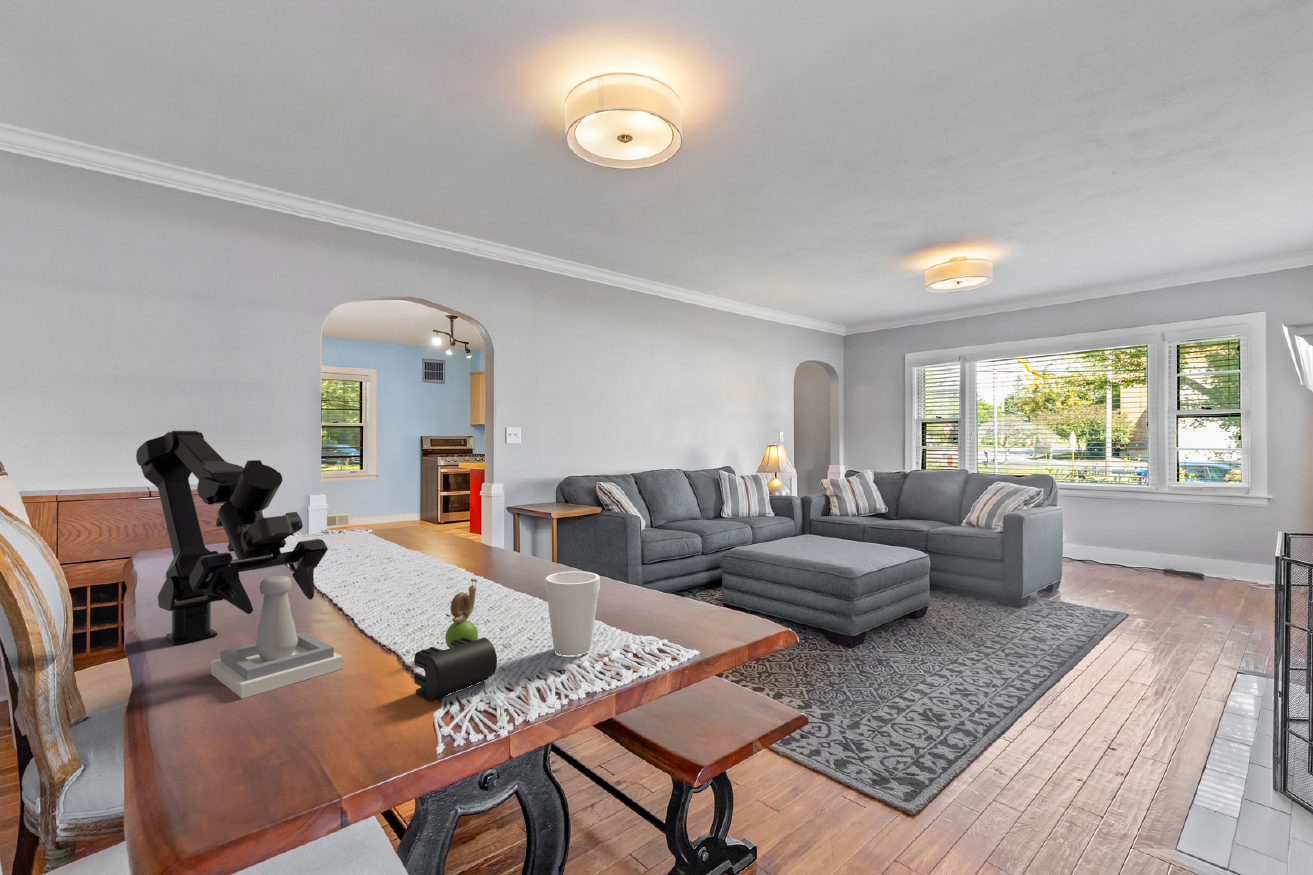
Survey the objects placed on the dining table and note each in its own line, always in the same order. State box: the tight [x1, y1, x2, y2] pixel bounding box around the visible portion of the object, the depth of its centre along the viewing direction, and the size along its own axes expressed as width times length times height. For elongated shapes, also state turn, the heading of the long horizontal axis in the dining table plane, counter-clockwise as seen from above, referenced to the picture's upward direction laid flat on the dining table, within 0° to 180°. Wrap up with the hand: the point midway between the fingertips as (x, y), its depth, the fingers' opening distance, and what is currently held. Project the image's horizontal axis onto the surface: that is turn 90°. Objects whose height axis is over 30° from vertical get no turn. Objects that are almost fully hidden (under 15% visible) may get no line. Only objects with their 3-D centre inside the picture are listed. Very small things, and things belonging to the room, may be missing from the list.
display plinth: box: [210, 631, 344, 699], centre depth 95 cm, size 14×14×4 cm
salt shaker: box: [255, 575, 298, 662], centre depth 95 cm, size 6×6×13 cm
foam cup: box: [544, 570, 601, 655], centre depth 104 cm, size 10×9×13 cm
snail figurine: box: [444, 578, 479, 649], centre depth 104 cm, size 5×6×12 cm
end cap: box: [413, 637, 498, 703], centre depth 88 cm, size 10×7×7 cm
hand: (282, 604), depth 94 cm, fingers open, 9 cm apart
